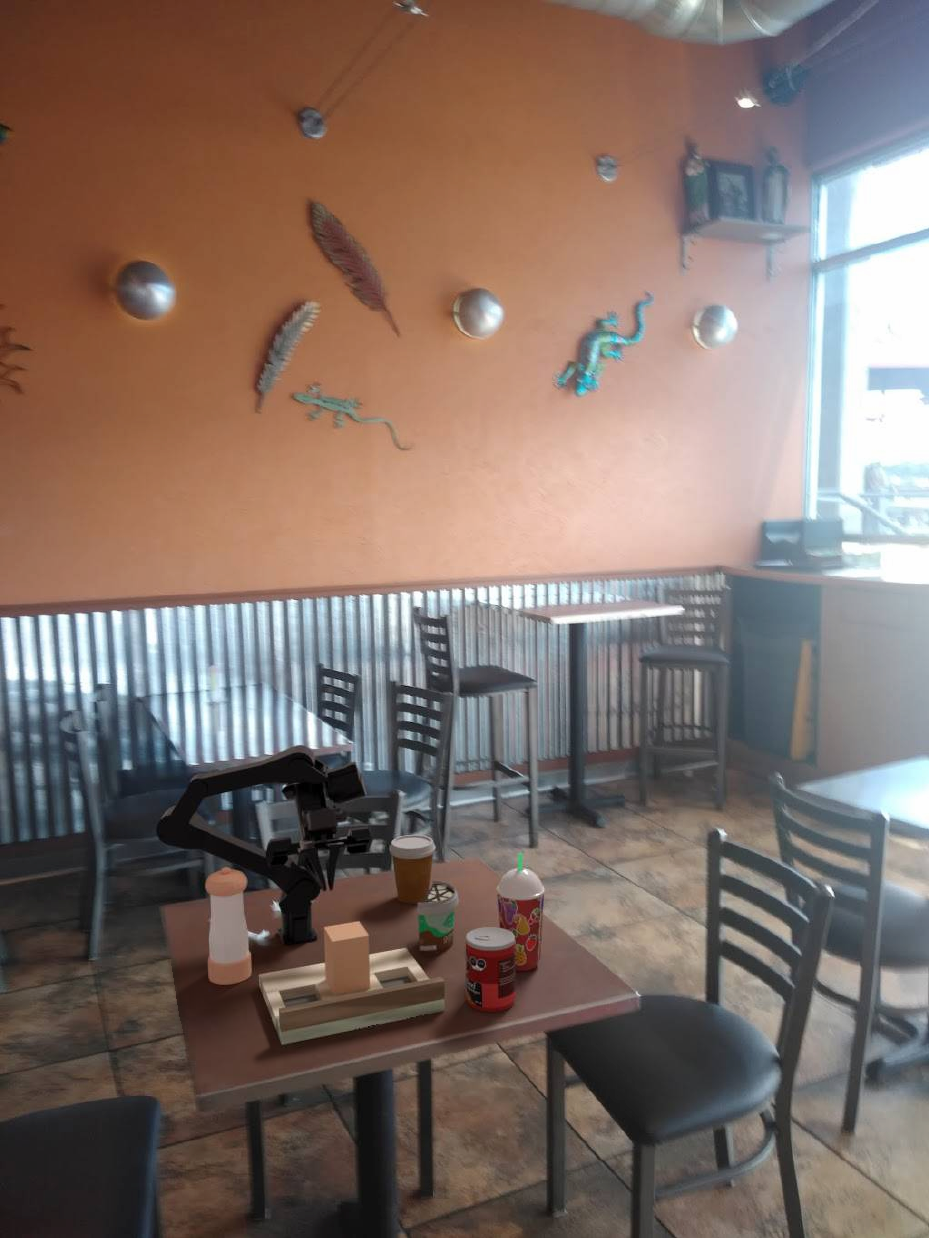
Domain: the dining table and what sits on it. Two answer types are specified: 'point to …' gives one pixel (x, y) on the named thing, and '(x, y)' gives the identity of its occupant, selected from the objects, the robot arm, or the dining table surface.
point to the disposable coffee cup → (412, 866)
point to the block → (347, 958)
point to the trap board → (349, 997)
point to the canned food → (490, 969)
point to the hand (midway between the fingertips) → (328, 890)
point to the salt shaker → (228, 928)
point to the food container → (437, 918)
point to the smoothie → (522, 913)
